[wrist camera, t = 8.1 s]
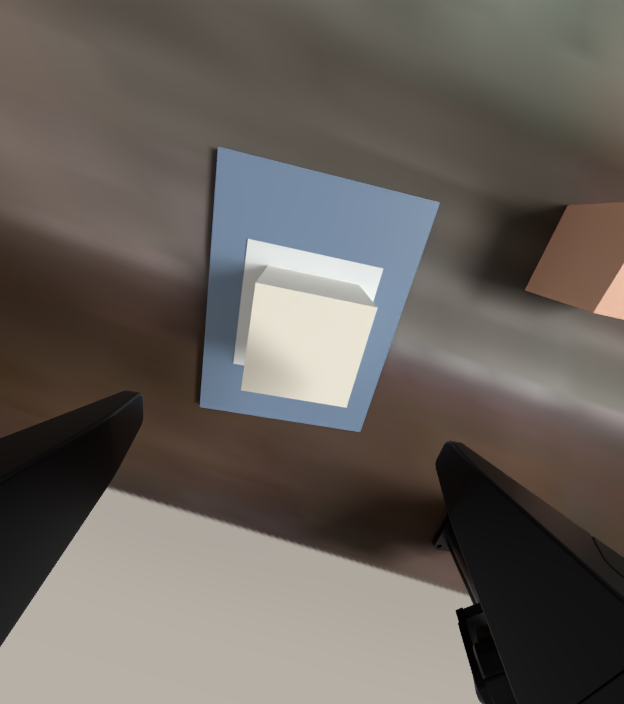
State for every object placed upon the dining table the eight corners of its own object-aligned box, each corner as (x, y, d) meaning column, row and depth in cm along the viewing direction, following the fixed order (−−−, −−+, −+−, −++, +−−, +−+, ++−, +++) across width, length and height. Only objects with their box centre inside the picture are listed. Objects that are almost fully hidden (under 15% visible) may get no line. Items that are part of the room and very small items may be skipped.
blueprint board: (359, 427, 23) (360, 432, 23) (202, 403, 22) (199, 407, 21) (436, 202, 17) (440, 202, 16) (220, 148, 15) (217, 146, 15)
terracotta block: (591, 305, 20) (679, 331, 15) (523, 289, 19) (592, 312, 14) (641, 224, 18) (759, 227, 13) (566, 205, 17) (662, 200, 12)
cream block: (336, 364, 20) (346, 407, 16) (255, 350, 19) (240, 390, 15) (358, 284, 18) (377, 307, 13) (268, 265, 17) (255, 282, 13)
